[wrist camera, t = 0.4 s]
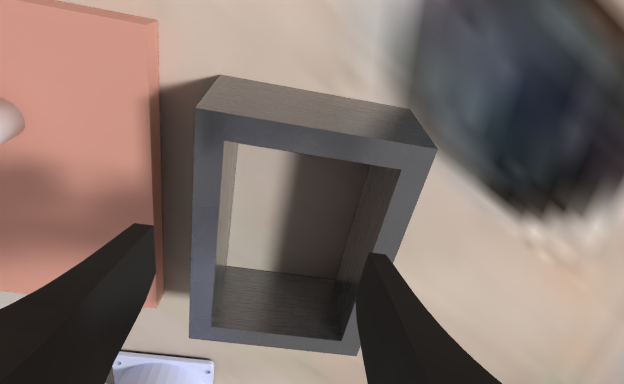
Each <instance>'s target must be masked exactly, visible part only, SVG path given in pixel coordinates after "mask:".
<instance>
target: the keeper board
mask: <svg viewBox="0 0 624 384" xmlns="http://www.w3.org/2000/svg"><path fill="white" fill-rule="evenodd" d="M134 223H138V224H146V225H154V241H155V259H156V274H155V277H154V280H153V283H152V285H151V288H150V291H149V294H148V296H147V299H146V301H145V303H144V305H143V307H148V308H157V307H158V304H159V302H160V300H161V297H162V295H163V293H164V275H163V231H162V187H161V143H160V99H159V55H158V20H153V19H148V18H143V17H138V16H133V15H128V14H122V13H117V12H112V11H107V10H102V9H97V8H91V7H86V6H81V5H76V4H71V3H66V2H60V1H55V0H0V291H7V292H16V293H25V294H31V293H32V292H34V291H36V290H38V289H39V288H41V287H43V286H45V285H46V284H48V283H50V282H51V281H53V280H54V279H56V278H57V277H59V276H61V275H62V274H64V273H65V272H67V271H68V270H70V269H71V268H73V267H74V266H76V265H77V264H79V263H80V262H82V261H83V260H84V259H86V258H87V257H89V256H90V255H91V254H93V253H94V252H96V251H97V250H98V249H100V248H101V247H103V246H104V245H105V244H107V243H108V242H109V241H111V240H112V239H113V238H115V237H116V236H117V235H119V234H120V233H121V232H123V231H124V230H125V229H127V228H128V227H129V226H131V225H132V224H134Z"/></svg>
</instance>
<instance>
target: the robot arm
mask: <svg viewBox="0 0 624 384" xmlns="http://www.w3.org/2000/svg"><path fill="white" fill-rule="evenodd" d="M155 274H156V259H155V241H154V225H146V224H138V223H134V224H132V225H131V226H129V227H128V228H127V229H125V230H124V231H123V232H121V233H120V234H119V235H117V236H116V237H115V238H113V239H112V240H111V241H109V242H108V243H107V244H105V245H104V246H103V247H101V248H100V249H98V250H97V251H96V252H94V253H93V254H91V255H90V256H89V257H87V258H86V259H84V260H83V261H82V262H80V263H79V264H77V265H76V266H74V267H73V268H71V269H70V270H68V271H67V272H65V273H64V274H62V275H61V276H59V277H57V278H56V279H54V280H53V281H51V282H50V283H48V284H46V285H45V286H43V287H41V288H39V289H38V290H36V291H34V292H32V293H31V294H29V295H27V296H25V297H23V298H21V299H20V300H18V301H16V302H14V303H12V304H10V305H8V306H6V307H4V308H2V309H0V384H105V381H106V379H107V376H108V374H109V372H110V370H111V368H113V375H114V382H115V384H213V377H214V363H213V362H212V361H209V360H200V359H190V358H181V357H171V356H161V355H151V354H141V353H131V352H121V351H120V350H121V348H122V346H123V344H124V342H125V340H126V338H127V336H128V334H129V332H130V330H131V329H132V327H133V325H134V323H135V321H136V319H137V317H138V315H139V313H140V311H141V309H142V307H143V305H144V303H145V301H146V299H147V296H148V294H149V291H150V288H151V285H152V283H153V280H154V277H155ZM355 300H356V319H357V327H358V332H359V338H360V344H361V349H362V355H363V360H364V365H365V371H366V376H367V382H368V384H502V383H501V382H500V381H498V380H497V379H496V378H495V377H493V376H492V375H491V374H490V373H489V372H488V371H487V370H485V369H484V368H483V367H482V366H481V365H480V364H479V363H478V362H476V361H475V360H474V359H473V358H472V357H471V356H470V355H469V354H468V353H467V352H466V351H465V350H463V349H462V348H461V346H460V345H459V344H458V343H457V342H456V341H455V340H454V339H453V338H452V337H451V336H450V335H449V334H448V333H447V332H446V331H445V330H444V329H443V328H442V327H441V326H440V324H439V323H438V322H437V321H436V320H435V319H434V317H433V316H432V315H431V314H430V313H429V312H428V310H427V309H426V308H425V307H424V305H423V304H422V303H421V302H420V300H419V299H418V298H417V297H416V295H415V294H414V293H413V291H412V290H411V289H410V287H409V286H408V285H407V283H406V282H405V280H404V279H403V278H402V276H401V275H400V273H399V272H398V271H397V269H396V268H395V266H394V265H393V263H392V262H391V261H390V259H389V258H388V256H387V255H386V254H379V253H371V252H369V253H368V257H367V260H366V263H365V266H364V269H363V272H362V275H361V278H360V281H359V284H358V288H357V291H356V294H355Z"/></svg>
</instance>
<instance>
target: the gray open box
mask: <svg viewBox="0 0 624 384" xmlns="http://www.w3.org/2000/svg"><path fill="white" fill-rule="evenodd" d="M238 143H241V144H247V145H253V146H260V147H266V148H272V149H278V150H284V151H290V152H296V153H302V154H309V155H315V156H321V157H327V158H333V159H339V160H345V161H351V162H358V163H364V164H370V167H369V171H368V174H367V178H366V181H365V184H364V188H363V191H362V194H361V198H360V201H359V204H358V208H357V211H356V214H355V218H354V221H353V224H352V228H351V231H350V234H349V238H348V241H347V244H346V248H345V251H344V254H343V258H342V261H341V264H340V268H339V271H338V274H337V278H336V280H331V279H323V278H315V277H308V276H300V275H292V274H284V273H276V272H268V271H261V270H253V269H245V268H237V267H229V266H227V256H228V245H229V234H230V223H231V213H232V202H233V191H234V180H235V169H236V159H237V148H238ZM437 150H438V149H437V147H436V146H435V144H434V143H433V142H432V140H431V139H430V137H429V136H428V134H427V133H426V132H425V130H424V129H423V127H422V126H421V124H420V123H419V122H418V120H417V119H416V117H415V116H414V114H413V113H412V112H411V110H410V109H406V108H400V107H395V106H389V105H384V104H378V103H373V102H367V101H362V100H356V99H351V98H345V97H340V96H334V95H329V94H323V93H318V92H312V91H307V90H301V89H296V88H290V87H285V86H279V85H274V84H268V83H263V82H257V81H252V80H246V79H241V78H235V77H229V76H224V75H219V77H218V78H217V79H216V81H215V82H214V83H213V85H212V86H211V87H210V89H209V90H208V91H207V93H206V94H205V95H204V97H203V98H202V99H201V101H200V102H199V103H198V105H197V106H196V107H195V131H194V167H193V204H192V240H191V276H190V313H189V338H191V339H200V340H210V341H219V342H229V343H238V344H247V345H257V346H266V347H276V348H285V349H294V350H304V351H313V352H323V353H332V354H341V355H351V356H357V353H358V351H359V348H360V346H361V344H360V338H359V332H358V327H357V319H356V300H355V294H356V291H357V288H358V284H359V281H360V278H361V275H362V272H363V269H364V266H365V263H366V260H367V257H368V253H369V252H371V253H379V254H386V255H387V256H388V258H389V259H390V261H391V262H392V263H393V262H394V259H395V257H396V254H397V252H398V249H399V247H400V244H401V241H402V239H403V236H404V234H405V231H406V229H407V226H408V224H409V221H410V219H411V216H412V213H413V211H414V208H415V206H416V203H417V201H418V198H419V196H420V193H421V191H422V188H423V186H424V183H425V180H426V178H427V175H428V173H429V170H430V168H431V165H432V163H433V160H434V158H435V155H436V153H437Z"/></svg>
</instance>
